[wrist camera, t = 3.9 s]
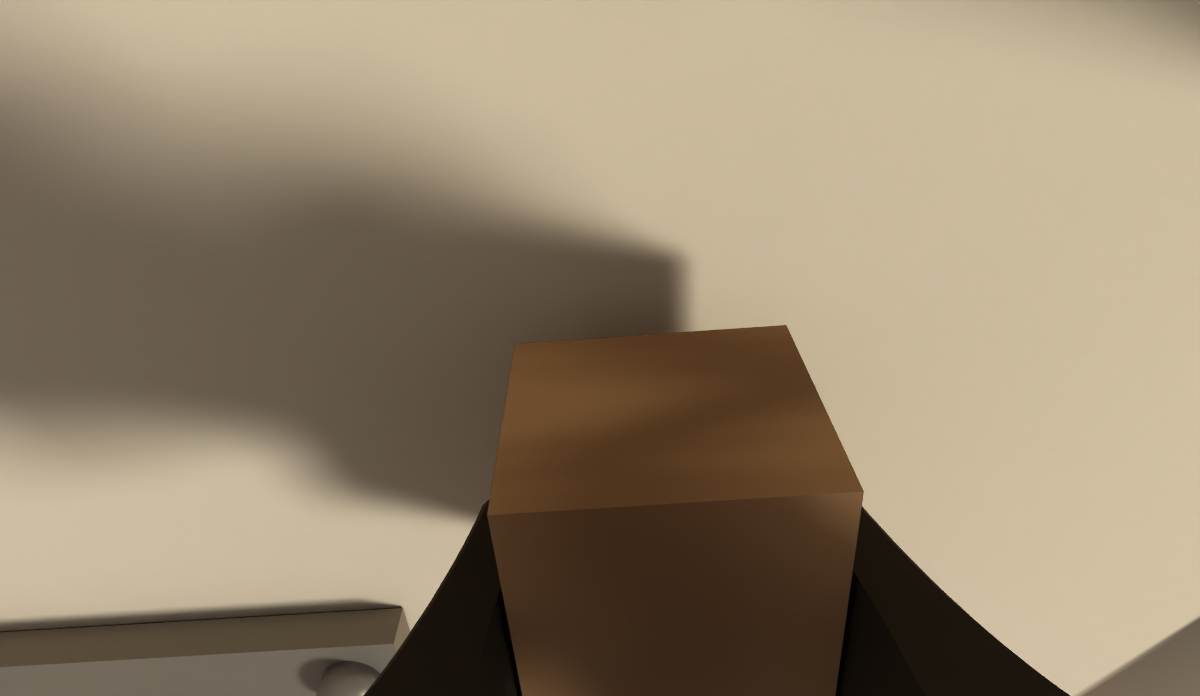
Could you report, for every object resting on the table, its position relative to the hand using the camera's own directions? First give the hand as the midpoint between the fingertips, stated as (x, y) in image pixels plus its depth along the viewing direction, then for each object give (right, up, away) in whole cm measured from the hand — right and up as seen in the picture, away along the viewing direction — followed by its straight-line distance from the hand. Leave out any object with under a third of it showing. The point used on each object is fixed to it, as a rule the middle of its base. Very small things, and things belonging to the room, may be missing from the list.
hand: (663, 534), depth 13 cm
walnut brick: (0, +1, +1) cm, 1 cm away
